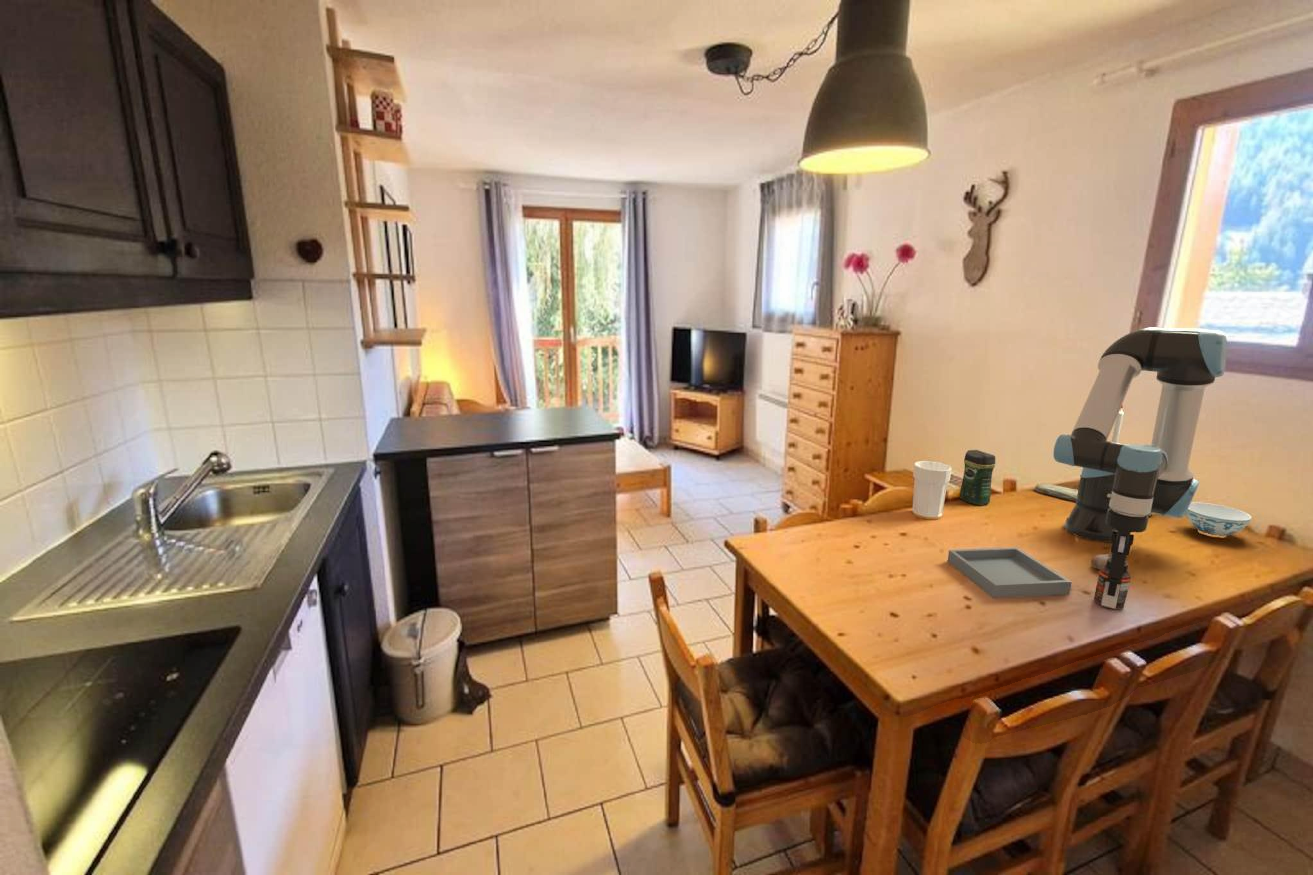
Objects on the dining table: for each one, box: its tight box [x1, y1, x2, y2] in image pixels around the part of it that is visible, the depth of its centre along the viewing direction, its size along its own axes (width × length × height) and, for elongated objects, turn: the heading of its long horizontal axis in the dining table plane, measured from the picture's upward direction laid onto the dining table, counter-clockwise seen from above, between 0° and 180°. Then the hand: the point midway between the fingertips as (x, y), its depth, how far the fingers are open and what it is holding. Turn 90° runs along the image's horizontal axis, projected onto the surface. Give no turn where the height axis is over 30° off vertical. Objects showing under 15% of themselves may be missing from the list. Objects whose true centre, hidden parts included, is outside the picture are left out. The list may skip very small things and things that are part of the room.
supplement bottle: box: [1093, 558, 1132, 610], centre depth 139 cm, size 6×6×11 cm
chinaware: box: [1185, 502, 1252, 536], centre depth 180 cm, size 15×15×8 cm
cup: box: [911, 460, 952, 521], centre depth 194 cm, size 11×11×17 cm
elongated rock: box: [1034, 482, 1154, 517], centre depth 208 cm, size 35×5×10 cm
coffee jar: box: [959, 449, 996, 506], centre depth 207 cm, size 10×8×19 cm
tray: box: [947, 546, 1072, 599], centre depth 153 cm, size 20×20×4 cm
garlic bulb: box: [1090, 544, 1112, 571], centre depth 156 cm, size 8×7×8 cm
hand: (1109, 600), depth 140 cm, fingers closed on supplement bottle, 6 cm apart
